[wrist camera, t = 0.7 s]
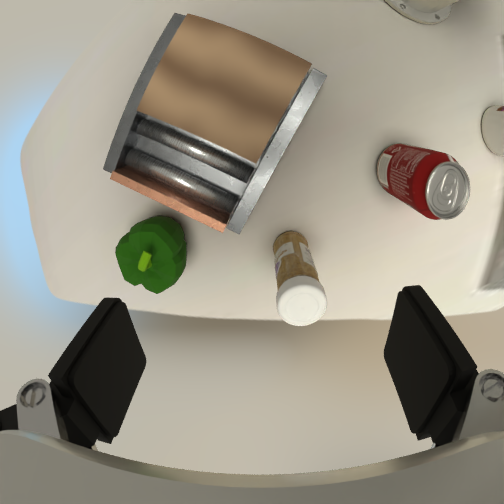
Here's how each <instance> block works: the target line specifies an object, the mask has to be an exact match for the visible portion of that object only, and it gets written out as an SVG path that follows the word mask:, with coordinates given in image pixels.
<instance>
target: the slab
mask: <svg viewBox="0 0 504 504" xmlns="http://www.w3.org/2000/svg"><path fill="white" fill-rule="evenodd" d="M311 65H312V64H311V63H310V62H308V61H306V60H304V59H302V58H300V57H298V56H296V55H294V54H292V53H290V52H288V51H286V50H284V49H282V48H280V47H277V46H275V45H273V44H271V43H269V42H266V41H264V40H262V39H259V38H257V37H255V36H252V35H250V34H247V33H245V32H242V31H239V30H237V29H234V28H231V27H229V26H226V25H223V24H220V23H217V22H214V21H211V20H208V19H205V18H202V17H198V16H195V15H191V14H187V15H186V17H185V18H184V20H183V22H182V23H181V25H180V27H179V28H178V30H177V32H176V33H175V35H174V37H173V38H172V40H171V42H170V44H169V45H168V47H167V49H166V51H165V53H164V55H163V56H162V58H161V60H160V62H159V64H158V66H157V68H156V70H155V72H154V74H153V76H152V78H151V80H150V82H149V84H148V86H147V88H146V90H145V93H144V95H143V97H142V99H141V101H140V104H139V106H138V108H137V111H139V112H142V113H144V114H147V115H149V116H152V117H154V118H157V119H159V120H162V121H164V122H166V123H169V124H171V125H173V126H176V127H178V128H180V129H183V130H185V131H187V132H190V133H192V134H194V135H196V136H199V137H201V138H203V139H205V140H207V141H210V142H212V143H214V144H216V145H218V146H220V147H223V148H225V149H227V150H229V151H231V152H233V153H235V154H237V155H239V156H241V157H243V158H245V159H247V160H249V161H251V162H253V163H255V164H256V163H257V161H258V159H259V158H260V156H261V154H262V152H263V150H264V148H265V146H266V145H267V143H268V141H269V139H270V137H271V135H272V134H273V132H274V130H275V128H276V126H277V125H278V123H279V121H280V119H281V117H282V116H283V114H284V112H285V110H286V108H287V107H288V105H289V103H290V101H291V100H292V98H293V96H294V94H295V92H296V91H297V89H298V87H299V85H300V84H301V82H302V80H303V79H304V77H305V75H306V73H307V72H308V70H309V68H310V67H311Z"/></svg>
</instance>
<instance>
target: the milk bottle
mask: <svg viewBox="0 0 504 504" xmlns="http://www.w3.org/2000/svg"><path fill="white" fill-rule="evenodd" d="M482 135H483V138H484V141H485V143H486V145H487V147H488V148H489V149H490V150H491V151H492V152H493V153H494V154H496V155H499V156H502V157H504V106H491V107H490V108H488V109H487V110H486V111H485V113H484V115H483V119H482Z"/></svg>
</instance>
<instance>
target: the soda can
mask: <svg viewBox="0 0 504 504" xmlns="http://www.w3.org/2000/svg"><path fill="white" fill-rule="evenodd" d="M377 176H378V180H379V182H380V184H381V186H382V187H383V188H384V189H385V190H386V191H387V192H388V193H390V194H391V195H393V196H395V197H396V198H398V199H399V200H401V201H402V202H404V203H406V204H407V205H409V206H410V207H412V208H413V209H415V210H416V211H418V212H419V213H421V214H422V215H424V216H425V217H427V218H430V219H434V220H440V219H446V220H447V219H452V218H455V217H456V216H458V215H459V214H460V213H461V212H462V211H463V210H464V208H465V207H466V205H467V203H468V200H469V196H470V181H469V178H468V175H467V173H466V171H465V170H464V169H463V167H461V166H460V165H459V163H458V162H457V161H456V160H455V159H454V158H453V157H452V156H450V155H448V154H446V153H442V152H438V151H434V150H430V149H425V148H421V147H416V146H411V145H406V144H394V145H391V146H389V147H388V148H386V149H385V150H384V151H383V153H382V154H381V156H380V157H379V160H378V164H377Z"/></svg>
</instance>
